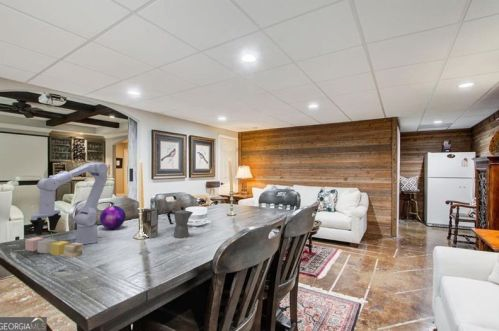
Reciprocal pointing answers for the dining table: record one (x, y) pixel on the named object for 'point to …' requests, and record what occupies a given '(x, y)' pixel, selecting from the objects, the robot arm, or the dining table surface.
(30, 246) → the pink block
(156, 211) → the coffee box
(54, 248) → the mustard block
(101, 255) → the dining table surface
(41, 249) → the grey block
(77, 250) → the maple block
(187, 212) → the coffeepot
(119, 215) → the decorative orb
